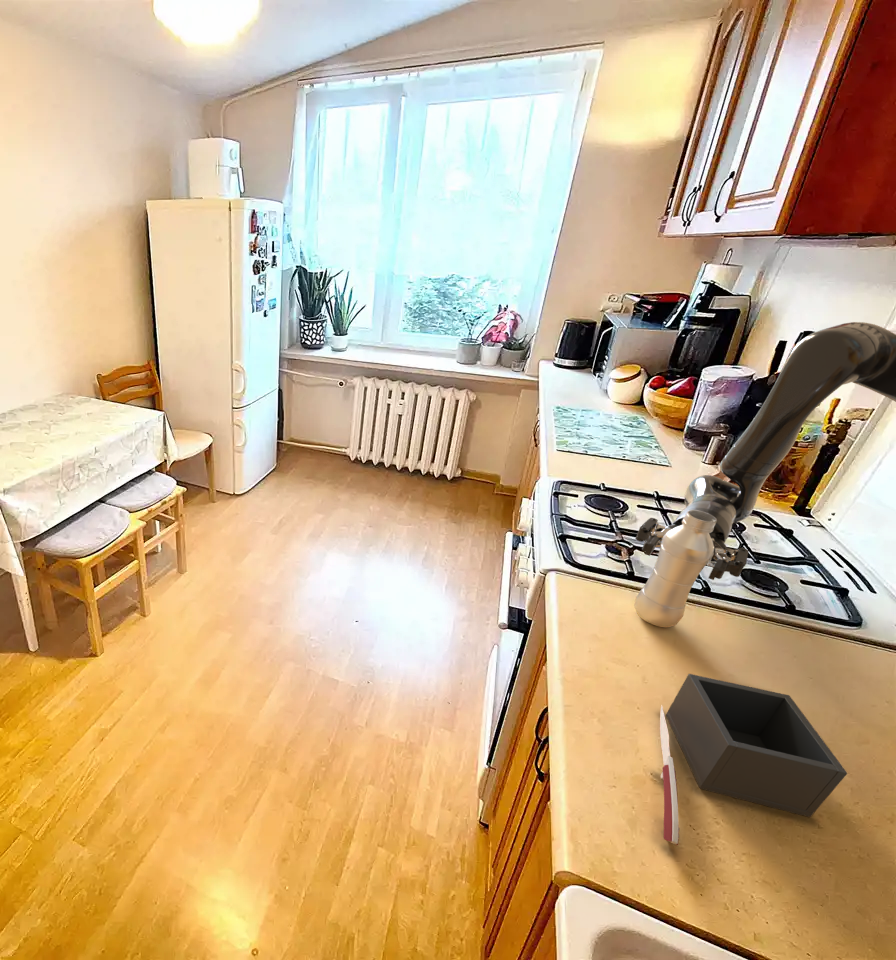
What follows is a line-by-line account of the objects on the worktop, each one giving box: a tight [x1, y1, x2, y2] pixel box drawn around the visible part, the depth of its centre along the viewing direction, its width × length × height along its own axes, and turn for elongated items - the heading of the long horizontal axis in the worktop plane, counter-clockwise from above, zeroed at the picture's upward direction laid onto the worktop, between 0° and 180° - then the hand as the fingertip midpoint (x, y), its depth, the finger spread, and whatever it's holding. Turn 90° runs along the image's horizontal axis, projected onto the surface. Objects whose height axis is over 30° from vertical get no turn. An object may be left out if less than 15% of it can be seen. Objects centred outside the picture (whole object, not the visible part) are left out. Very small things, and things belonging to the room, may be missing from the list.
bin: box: [665, 673, 848, 818], centre depth 62 cm, size 11×11×8 cm
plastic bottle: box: [633, 510, 717, 628], centre depth 82 cm, size 6×7×20 cm
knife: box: [659, 704, 681, 847], centre depth 61 cm, size 20×1×3 cm, turn 148°
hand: (680, 561), depth 83 cm, fingers open, 8 cm apart
